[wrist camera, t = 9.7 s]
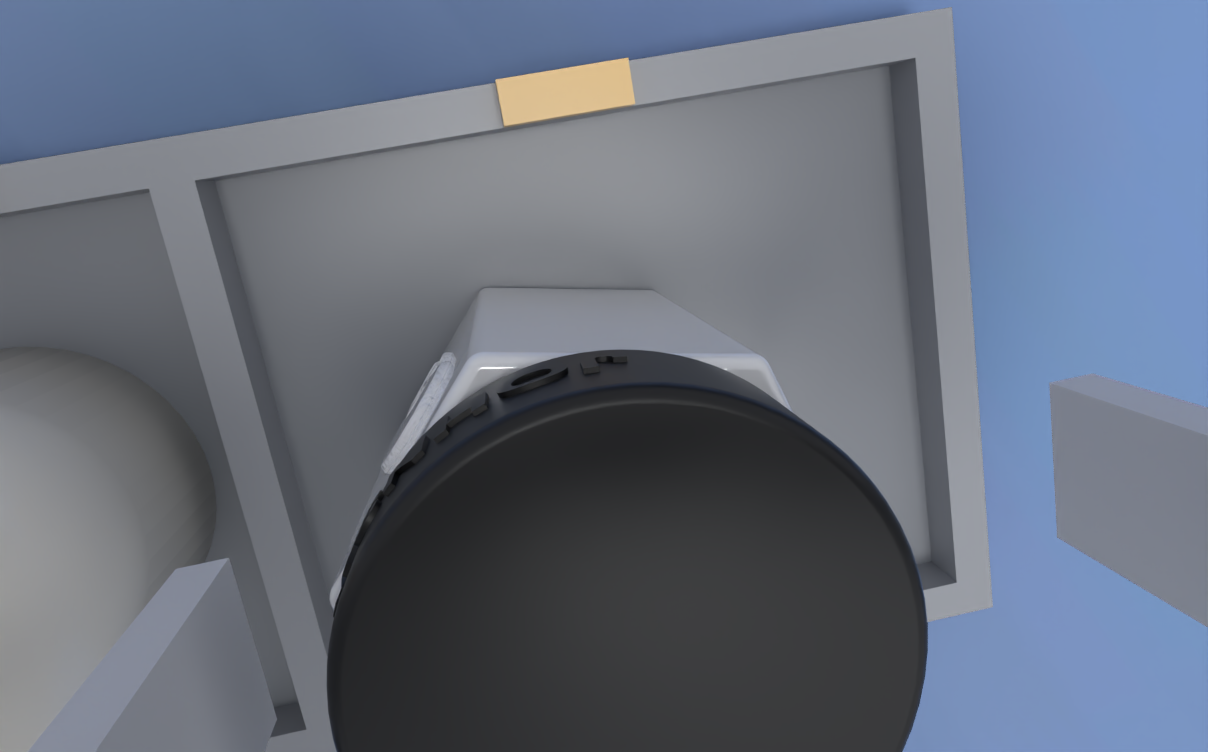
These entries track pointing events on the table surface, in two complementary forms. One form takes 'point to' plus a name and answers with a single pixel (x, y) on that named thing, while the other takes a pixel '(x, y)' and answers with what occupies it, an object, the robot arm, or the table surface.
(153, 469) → the white jar with lid
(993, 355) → the table surface
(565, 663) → the jar
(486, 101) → the divided grey tray
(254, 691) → the robot arm
